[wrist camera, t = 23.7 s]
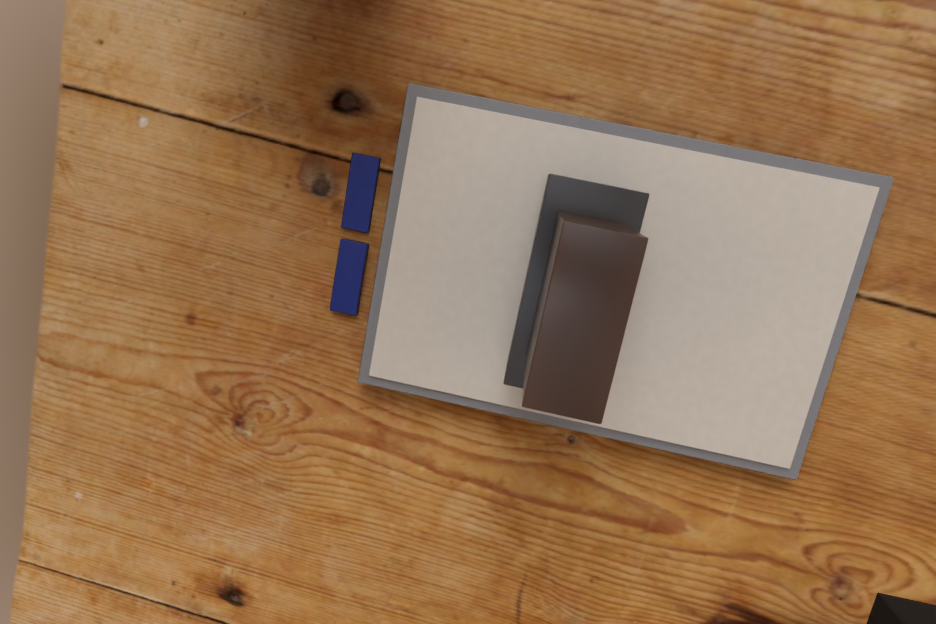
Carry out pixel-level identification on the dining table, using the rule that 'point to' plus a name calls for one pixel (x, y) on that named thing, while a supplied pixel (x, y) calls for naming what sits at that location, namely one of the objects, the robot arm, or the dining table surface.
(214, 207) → the dining table surface
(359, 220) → the blue flat block
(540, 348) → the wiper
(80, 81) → the dining table surface
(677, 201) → the whiteboard
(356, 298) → the smudge
